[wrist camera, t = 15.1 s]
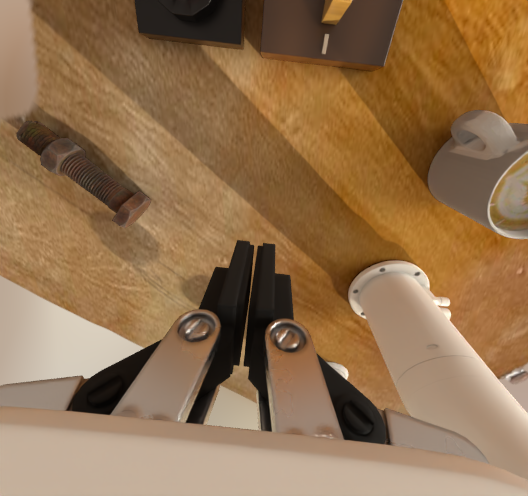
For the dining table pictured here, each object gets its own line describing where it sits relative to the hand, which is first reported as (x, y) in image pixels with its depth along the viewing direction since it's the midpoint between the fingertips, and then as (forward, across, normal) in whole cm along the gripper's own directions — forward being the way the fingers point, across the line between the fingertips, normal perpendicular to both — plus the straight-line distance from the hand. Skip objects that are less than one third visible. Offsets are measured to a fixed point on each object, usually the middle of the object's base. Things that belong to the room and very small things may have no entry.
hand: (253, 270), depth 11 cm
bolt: (+23, +23, +3) cm, 33 cm away
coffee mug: (+23, -24, -4) cm, 34 cm away
